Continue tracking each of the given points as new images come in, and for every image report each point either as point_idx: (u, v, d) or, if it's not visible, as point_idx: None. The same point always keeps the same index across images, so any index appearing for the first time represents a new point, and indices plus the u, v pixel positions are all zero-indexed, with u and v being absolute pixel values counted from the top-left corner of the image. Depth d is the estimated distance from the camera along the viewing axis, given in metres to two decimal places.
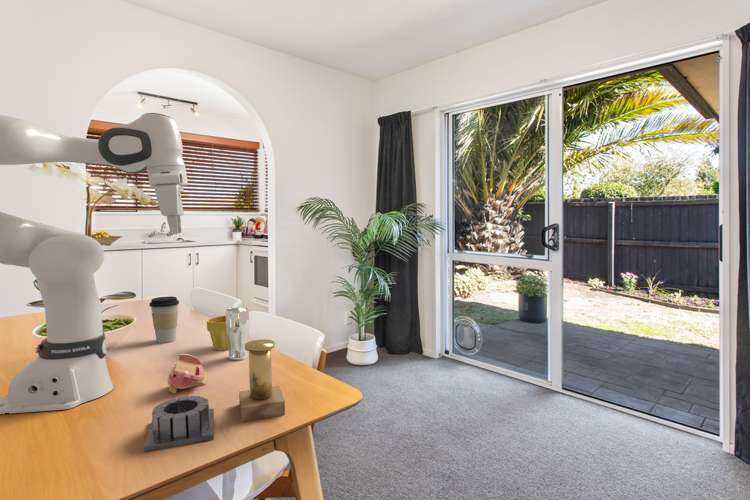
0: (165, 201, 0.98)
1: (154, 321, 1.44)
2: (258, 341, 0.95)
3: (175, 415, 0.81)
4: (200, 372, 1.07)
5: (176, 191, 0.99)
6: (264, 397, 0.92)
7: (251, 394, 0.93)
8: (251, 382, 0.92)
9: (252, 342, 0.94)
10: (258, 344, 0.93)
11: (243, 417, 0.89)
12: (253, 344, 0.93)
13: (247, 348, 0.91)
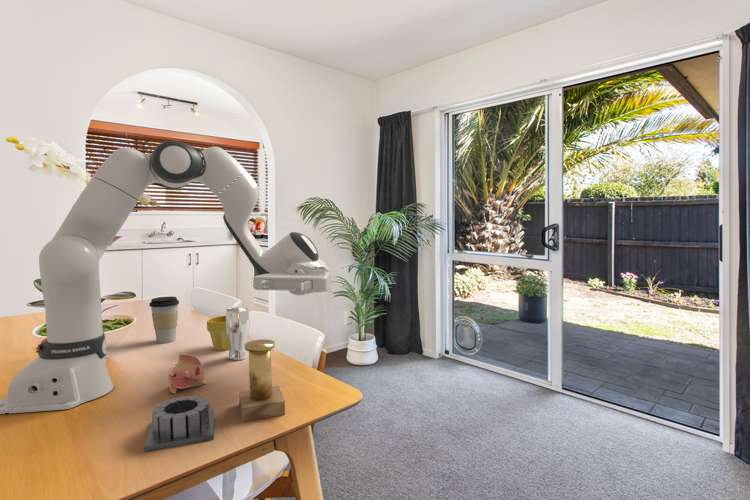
0: (328, 280, 1.10)
1: (154, 321, 1.44)
2: (258, 341, 0.95)
3: (175, 415, 0.81)
4: (200, 372, 1.07)
5: (329, 289, 1.13)
6: (264, 397, 0.92)
7: (251, 394, 0.93)
8: (251, 382, 0.92)
9: (252, 342, 0.94)
10: (258, 344, 0.93)
11: (243, 417, 0.89)
12: (253, 344, 0.93)
13: (247, 348, 0.91)
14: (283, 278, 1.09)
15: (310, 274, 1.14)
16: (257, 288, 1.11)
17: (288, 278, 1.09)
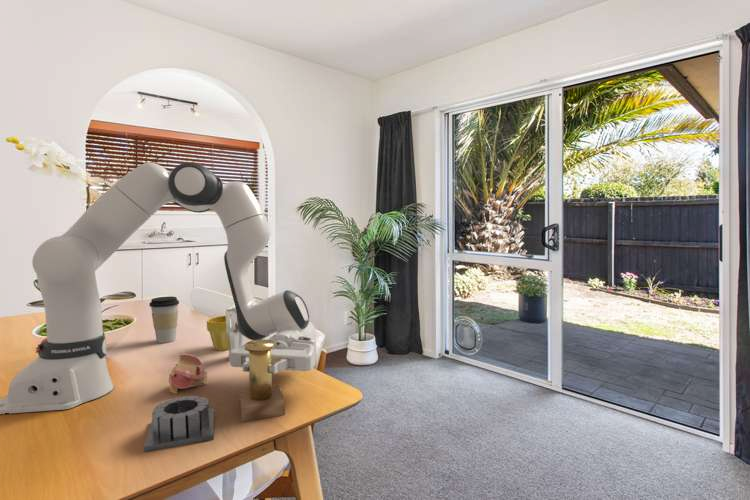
0: (313, 357, 0.99)
1: (154, 321, 1.44)
2: (258, 341, 0.95)
3: (175, 415, 0.81)
4: (201, 372, 1.07)
5: (314, 365, 1.01)
6: (264, 397, 0.92)
7: (251, 394, 0.93)
8: (251, 382, 0.92)
9: (252, 342, 0.94)
10: (258, 344, 0.93)
11: (243, 417, 0.89)
12: (253, 344, 0.93)
13: (247, 348, 0.91)
14: None
15: (293, 347, 1.02)
16: (234, 365, 0.99)
17: None
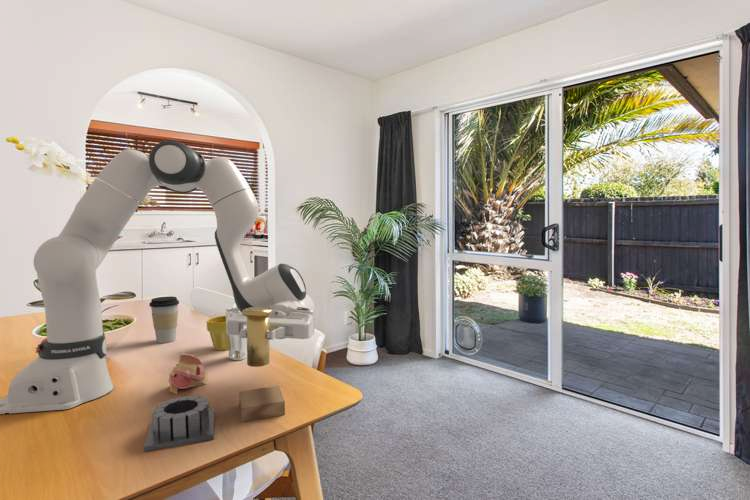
0: (311, 326, 0.98)
1: (154, 321, 1.44)
2: (256, 308, 0.94)
3: (175, 415, 0.81)
4: (201, 372, 1.07)
5: (312, 334, 1.01)
6: (261, 363, 0.92)
7: (248, 360, 0.92)
8: (248, 348, 0.91)
9: (250, 308, 0.94)
10: (256, 310, 0.92)
11: (243, 417, 0.89)
12: (251, 310, 0.92)
13: (245, 313, 0.90)
14: None
15: (292, 317, 1.01)
16: (231, 333, 0.98)
17: None
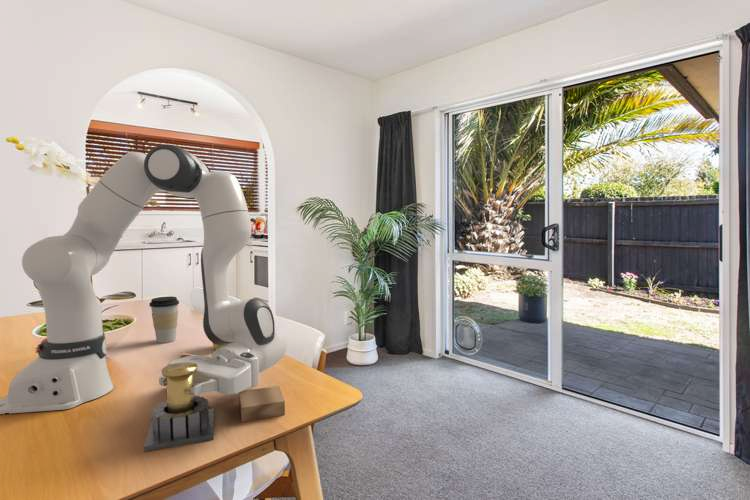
0: (242, 379, 0.86)
1: (154, 321, 1.44)
2: (182, 364, 0.86)
3: (175, 415, 0.81)
4: None
5: (248, 387, 0.88)
6: None
7: None
8: (168, 409, 0.84)
9: (175, 365, 0.86)
10: (177, 368, 0.84)
11: (243, 417, 0.89)
12: (172, 367, 0.84)
13: (162, 372, 0.83)
14: None
15: (231, 365, 0.91)
16: None
17: (196, 371, 0.88)
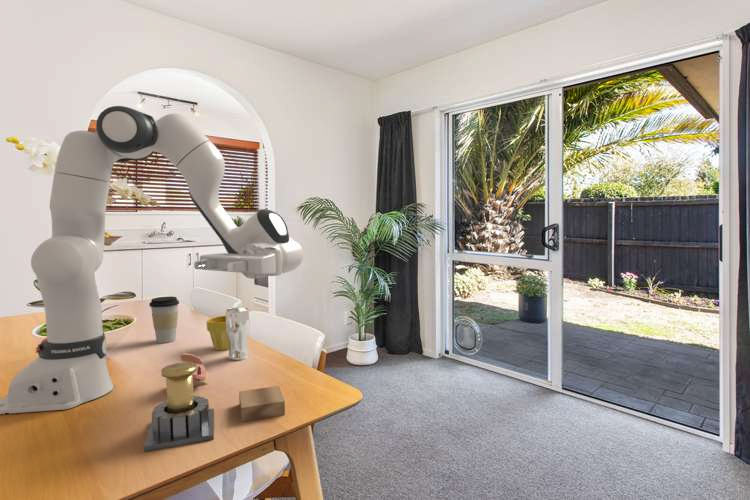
0: (268, 262, 0.97)
1: (154, 321, 1.44)
2: (182, 364, 0.86)
3: (175, 415, 0.81)
4: (202, 372, 1.07)
5: (273, 272, 0.99)
6: None
7: None
8: None
9: (175, 365, 0.86)
10: (176, 368, 0.84)
11: (243, 417, 0.89)
12: (172, 367, 0.84)
13: (161, 372, 0.83)
14: (223, 258, 0.99)
15: (257, 255, 1.02)
16: None
17: (227, 258, 0.99)
